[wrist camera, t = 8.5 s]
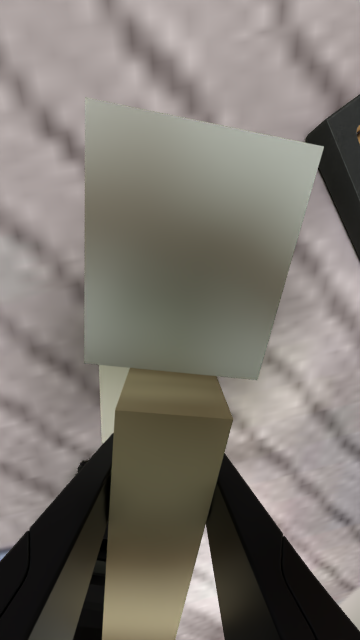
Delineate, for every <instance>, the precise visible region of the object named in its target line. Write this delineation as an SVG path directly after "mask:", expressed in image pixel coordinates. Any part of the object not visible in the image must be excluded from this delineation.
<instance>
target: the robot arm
mask: <svg viewBox="0 0 360 640" xmlns="http://www.w3.org/2000/svg"><path fill="white" fill-rule="evenodd" d="M113 437H114V433H112V434H111V435H110V437H109V438H108V439H107V440H106V441H105V442H104V443H103V445H102V446H101V447H100V448H99V449H98V450H97V451H96V453H95V454H94V455H93V456H92V457H91V458H90V460H89V461H88V462H82V463H80V465H79V467H78V473H77V474H76V476H75V477H74V478H73V479H72V480H71V481H70V482H69V484H68V485H67V486H66V487H65V488H64V489H63V490H62V492H61V493H60V494H59V495H58V496H57V497H56V499H55V500H54V501H53V502H52V503H51V504H50V505H49V507H48V508H47V509H46V510H45V511H44V512H43V513H42V515H41V516H40V517H39V518H38V519H37V520H36V521H35V523H34V524H33V525H32V526H31V527H30V529H29V531H27V532H26V533H25V534H24V535H23V536H22V537H21V538H20V540H19V541H18V542H17V543H16V544H15V545H14V547H13V548H12V549H11V550H10V551H9V552H8V553H7V554H6V555H5V557H4V558H3V559H2V560H1V561H0V640H102V630H103V612H104V595H105V577H106V560H107V542H108V524H109V507H110V489H111V472H112V454H113ZM206 528H207V534H208V540H209V546H210V552H211V558H212V564H213V571H214V577H215V583H216V589H217V595H218V601H219V607H220V614H221V620H222V626H223V632H224V638H225V640H360V631H359V630H358V629H357V627H356V626H355V625H354V624H353V623H352V622H351V620H350V619H349V618H348V617H347V615H345V613H344V612H343V611H342V609H341V608H340V607H339V606H338V605H337V603H336V602H335V601H334V600H333V598H332V597H331V596H330V595H329V593H328V592H327V591H326V590H325V588H324V587H323V586H322V585H321V583H320V582H319V581H318V580H317V578H316V577H315V576H314V575H313V573H312V572H311V571H310V569H309V568H308V567H307V565H306V564H305V563H304V561H303V560H302V559H301V557H300V556H299V555H298V553H297V552H296V551H295V549H294V548H293V547H292V545H291V544H290V543H289V541H288V540H287V538H286V537H285V536H283V533H282V532H281V530H280V529H279V528H278V526H277V525H276V523H275V522H274V521H273V519H272V518H271V516H270V515H269V514H268V512H267V511H266V510H265V508H264V507H263V505H262V504H261V503H260V501H259V500H258V499H257V497H256V496H255V494H254V493H253V492H252V490H251V489H250V488H249V486H248V485H247V483H246V482H245V481H244V479H243V478H242V477H241V475H240V474H239V472H238V471H237V470H236V468H235V467H234V465H233V464H232V463H231V461H230V460H229V459H228V457H227V456H226V454H225V453H224V456H223V460H222V463H221V467H220V471H219V475H218V479H217V482H216V486H215V490H214V494H213V498H212V501H211V505H210V509H209V513H208V516H207V520H206Z"/></svg>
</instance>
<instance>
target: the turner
mask: <svg viewBox="0 0 360 640" xmlns="http://www.w3.org/2000/svg"><path fill="white" fill-rule="evenodd" d="M323 149H324V146H319V145H314V144H309V143H304V142H299V141H295V140H290V139H285V138H280V137H275V136H270V135H265V134H261V133H256V132H251V131H246V130H241V129H236V128H231V127H227V126H222V125H217V124H212V123H207V122H202V121H197V120H193V119H188V118H183V117H178V116H173V115H168V114H163V113H159V112H154V111H149V110H144V109H139V108H134V107H129V106H125V105H120V104H115V103H110V102H105V101H100V100H95V99H91V98H86V97H85V284H84V363H85V364H96V365H106V366H117V367H127V368H130V369H129V372H128V375H127V377H126V380H125V383H124V386H123V389H122V392H121V395H120V397H119V400H118V403H117V406H116V409H115V419H114V437H113V454H112V472H111V489H110V507H109V524H108V542H107V560H106V577H105V595H104V612H103V630H102V640H175V638H176V634H177V630H178V626H179V623H180V619H181V615H182V611H183V607H184V604H185V600H186V596H187V592H188V589H189V585H190V581H191V577H192V573H193V570H194V566H195V562H196V558H197V554H198V551H199V547H200V543H201V539H202V535H203V532H204V528H205V524H206V520H207V516H208V513H209V509H210V505H211V501H212V498H213V494H214V490H215V486H216V482H217V479H218V475H219V471H220V467H221V463H222V460H223V456H224V452H225V448H226V444H227V441H228V437H229V433H230V429H231V425H232V422H233V418H232V415H231V413H230V410H229V407H228V405H227V402H226V400H225V397H224V395H223V392H222V389H221V387H220V384H219V382H218V379H217V377H216V376H220V377H231V378H241V379H252V380H257V379H258V376H259V372H260V369H261V365H262V362H263V358H264V355H265V351H266V348H267V344H268V341H269V337H270V334H271V330H272V327H273V323H274V320H275V316H276V313H277V309H278V306H279V302H280V299H281V295H282V292H283V288H284V285H285V281H286V278H287V274H288V271H289V267H290V264H291V260H292V257H293V253H294V250H295V246H296V243H297V239H298V236H299V232H300V229H301V225H302V222H303V218H304V215H305V211H306V208H307V204H308V201H309V197H310V194H311V190H312V187H313V183H314V180H315V176H316V173H317V169H318V166H319V162H320V159H321V155H322V152H323Z"/></svg>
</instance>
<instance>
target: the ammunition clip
mask: <svg viewBox="0 0 360 640" xmlns="http://www.w3.org/2000/svg"><path fill="white" fill-rule="evenodd" d="M359 131H360V95H358V96H357V97H356V98H354V99H353V100H351V101H350V102H349V103H347V104H346V105H345V106H343V107H342V108H340V109H339V110H338V111H336V112H335V113H334V114H332V115H331V116H329V117H328V118H327V119H325V120H324V121H323V122H322V123H321V124H320V125H319V126H318V127H316V128H315V129H314V130H313V131H312V132H311V133H310V134H308V136H307V138H306V139H307V142H308V143H309V144H314V145H319V146H324V149H323V152H322V155H321V159H320V162H319V168H320V171H321V173H322V175H323V177H324V180H325V182H326V184H327V186H328V189H329V191H330V193H331V195H332V198H333V200H334V202H335V204H336V207H337V209H338V211H339V213H340V216H341V218H342V220H343V222H344V225H345V227H346V229H347V231H348V233H349V236H350V238H351V240H352V242H353V245H354V247H355V249H356V251H357V254H358V256H359V258H360V133H359V134H356V133H357V132H359Z"/></svg>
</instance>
